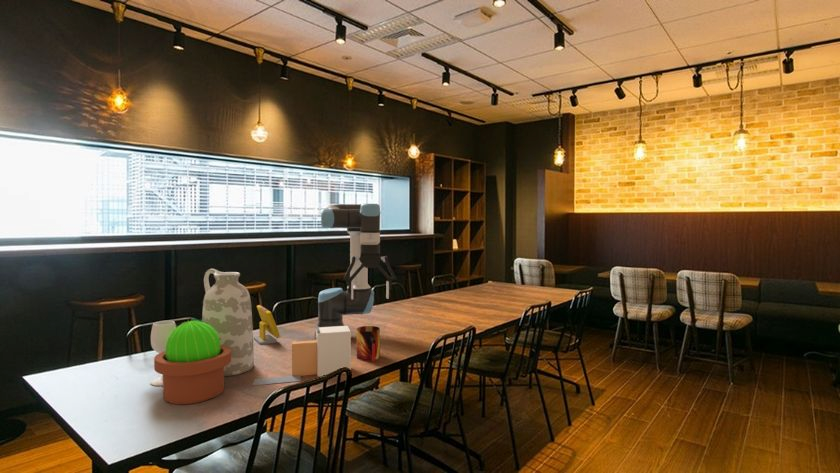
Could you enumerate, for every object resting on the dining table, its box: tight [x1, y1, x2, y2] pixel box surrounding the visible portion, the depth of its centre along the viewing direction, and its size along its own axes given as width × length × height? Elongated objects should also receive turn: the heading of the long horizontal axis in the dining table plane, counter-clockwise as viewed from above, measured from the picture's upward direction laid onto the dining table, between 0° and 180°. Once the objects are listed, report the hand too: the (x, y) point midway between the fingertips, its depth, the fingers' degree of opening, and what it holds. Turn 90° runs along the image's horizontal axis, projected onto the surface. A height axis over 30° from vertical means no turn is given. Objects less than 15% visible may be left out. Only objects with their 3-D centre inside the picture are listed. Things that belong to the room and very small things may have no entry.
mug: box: [356, 325, 381, 362], centre depth 186 cm, size 10×14×12 cm
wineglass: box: [150, 320, 177, 387], centre depth 158 cm, size 9×9×21 cm
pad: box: [253, 375, 302, 387], centre depth 160 cm, size 6×16×1 cm, turn 107°
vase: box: [201, 268, 255, 377], centre depth 172 cm, size 20×19×38 cm
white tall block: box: [315, 325, 352, 378], centre depth 170 cm, size 9×12×17 cm
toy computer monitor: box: [253, 304, 281, 345], centre depth 211 cm, size 20×8×16 cm, turn 34°
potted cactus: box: [153, 318, 231, 405], centre depth 147 cm, size 22×22×25 cm
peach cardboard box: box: [291, 339, 317, 377], centre depth 168 cm, size 3×14×12 cm, turn 107°
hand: (369, 298), depth 174 cm, fingers open, 13 cm apart
